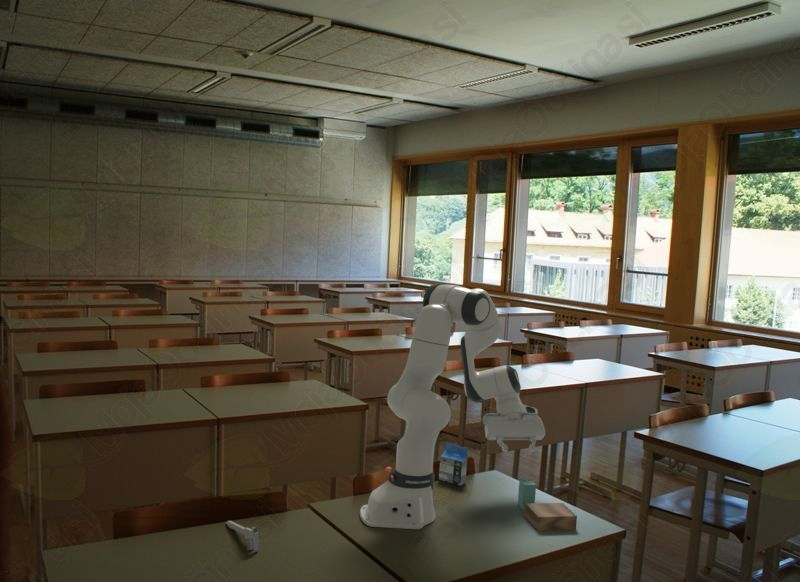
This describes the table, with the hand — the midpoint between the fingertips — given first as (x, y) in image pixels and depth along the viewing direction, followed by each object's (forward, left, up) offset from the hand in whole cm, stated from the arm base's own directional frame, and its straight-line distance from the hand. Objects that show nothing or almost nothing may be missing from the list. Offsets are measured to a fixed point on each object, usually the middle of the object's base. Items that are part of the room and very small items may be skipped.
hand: (519, 450), depth 221 cm
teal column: (0, -9, -15) cm, 18 cm away
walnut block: (+3, -21, -15) cm, 26 cm away
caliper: (-87, -25, -16) cm, 92 cm away
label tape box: (-18, +14, -16) cm, 28 cm away
